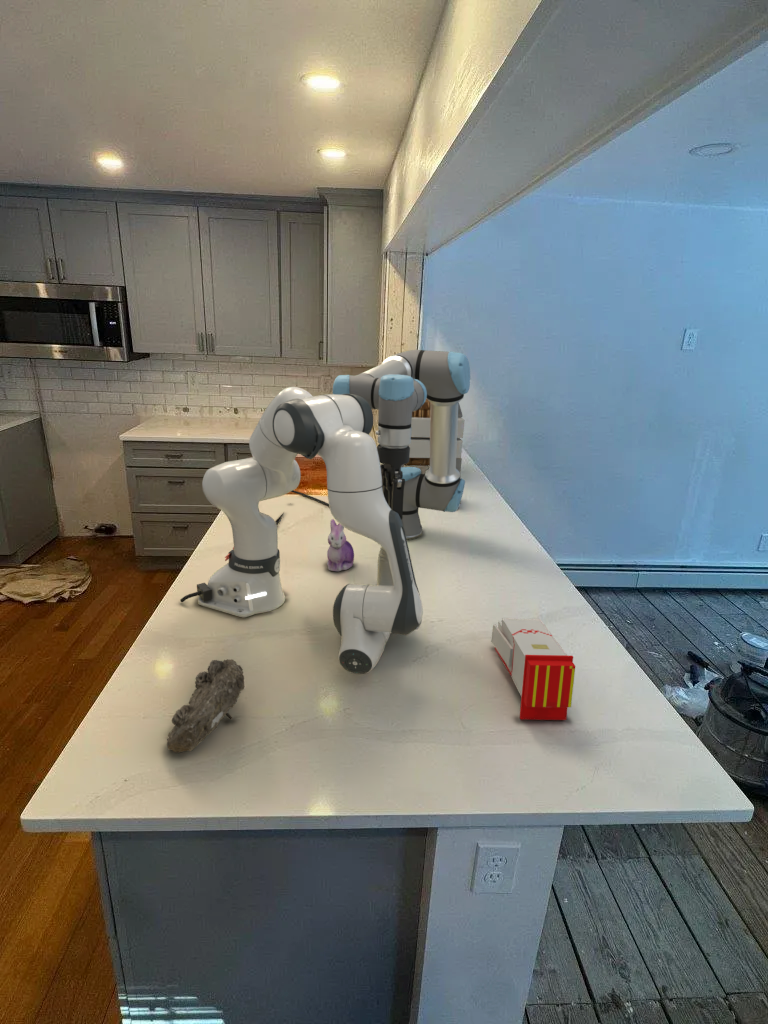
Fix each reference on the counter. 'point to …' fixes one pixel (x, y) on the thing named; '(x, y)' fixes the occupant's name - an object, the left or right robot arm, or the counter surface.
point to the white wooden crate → (422, 437)
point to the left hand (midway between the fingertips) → (386, 596)
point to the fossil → (206, 705)
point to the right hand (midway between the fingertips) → (388, 539)
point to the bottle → (384, 569)
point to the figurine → (339, 549)
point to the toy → (535, 667)
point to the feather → (279, 518)
